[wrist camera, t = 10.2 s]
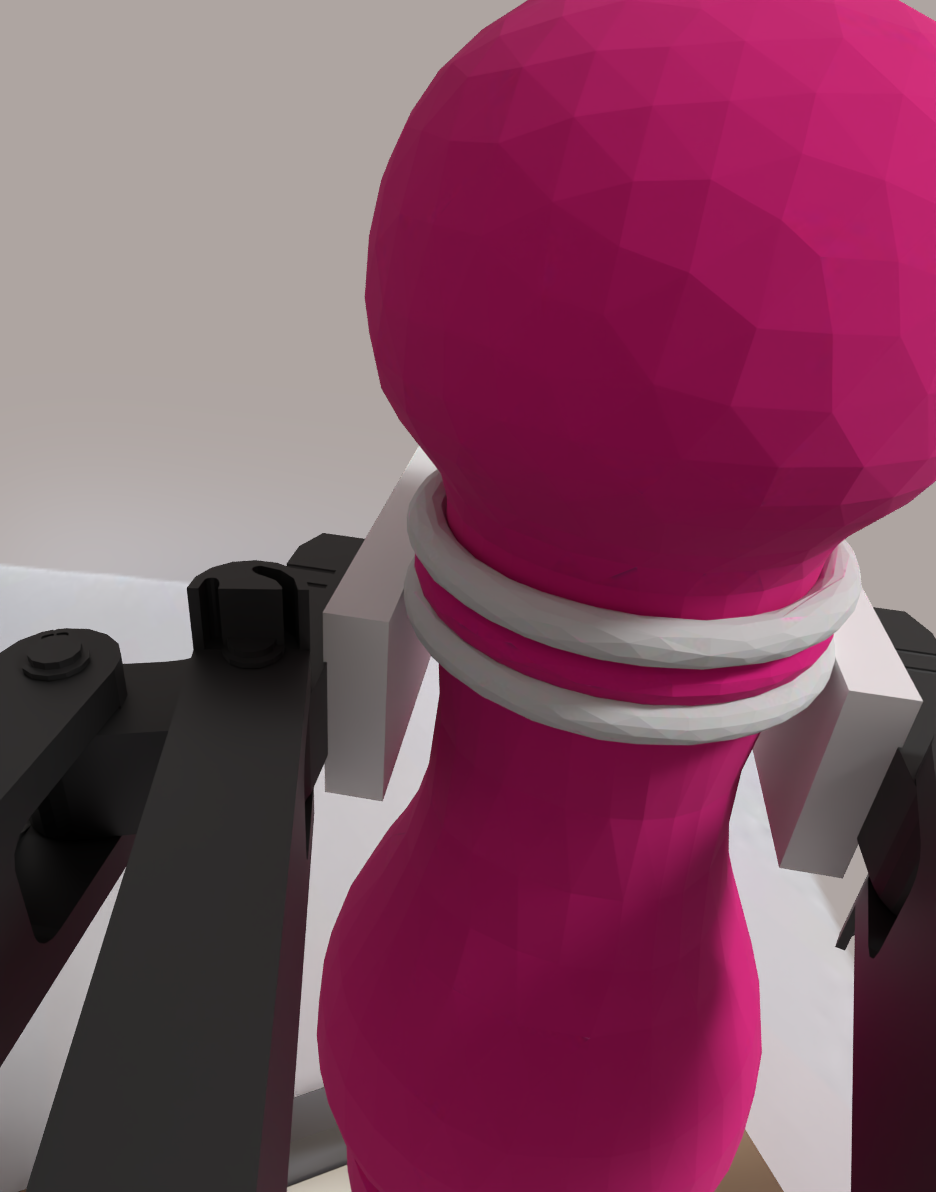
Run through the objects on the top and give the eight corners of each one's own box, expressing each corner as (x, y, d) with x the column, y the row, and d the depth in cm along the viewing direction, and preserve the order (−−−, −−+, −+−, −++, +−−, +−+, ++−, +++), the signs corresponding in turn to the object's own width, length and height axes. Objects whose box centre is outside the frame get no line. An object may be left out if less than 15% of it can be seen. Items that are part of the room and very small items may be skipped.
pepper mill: (411, 929, 20) (484, -158, 10) (712, 1042, 18) (1185, -155, 8) (243, 1261, 14) (-6, -595, 4) (664, 1478, 12) (2235, -972, 2)
